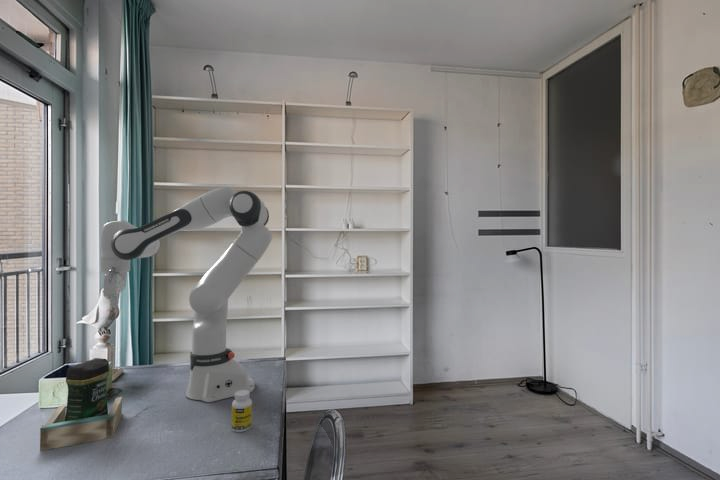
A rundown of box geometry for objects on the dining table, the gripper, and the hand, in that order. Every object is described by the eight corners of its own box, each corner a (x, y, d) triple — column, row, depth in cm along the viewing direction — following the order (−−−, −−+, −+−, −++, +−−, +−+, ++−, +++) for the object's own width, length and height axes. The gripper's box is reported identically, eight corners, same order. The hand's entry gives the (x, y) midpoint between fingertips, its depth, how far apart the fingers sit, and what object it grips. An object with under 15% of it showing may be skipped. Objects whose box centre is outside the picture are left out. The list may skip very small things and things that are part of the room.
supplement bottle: (232, 434, 97) (233, 398, 97) (230, 425, 102) (230, 390, 102) (253, 429, 100) (253, 394, 100) (249, 421, 104) (250, 387, 104)
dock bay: (121, 413, 108) (122, 394, 108) (112, 437, 95) (113, 416, 95) (58, 424, 101) (59, 404, 102) (39, 451, 88) (40, 428, 88)
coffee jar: (83, 439, 94) (84, 368, 94) (57, 436, 95) (59, 366, 95) (114, 421, 103) (115, 356, 104) (90, 418, 105) (91, 355, 105)
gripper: (121, 268, 118) (120, 310, 118) (130, 265, 137) (129, 301, 137) (98, 269, 116) (97, 311, 115) (110, 265, 134) (109, 302, 134)
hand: (114, 306), depth 126 cm, fingers closed
